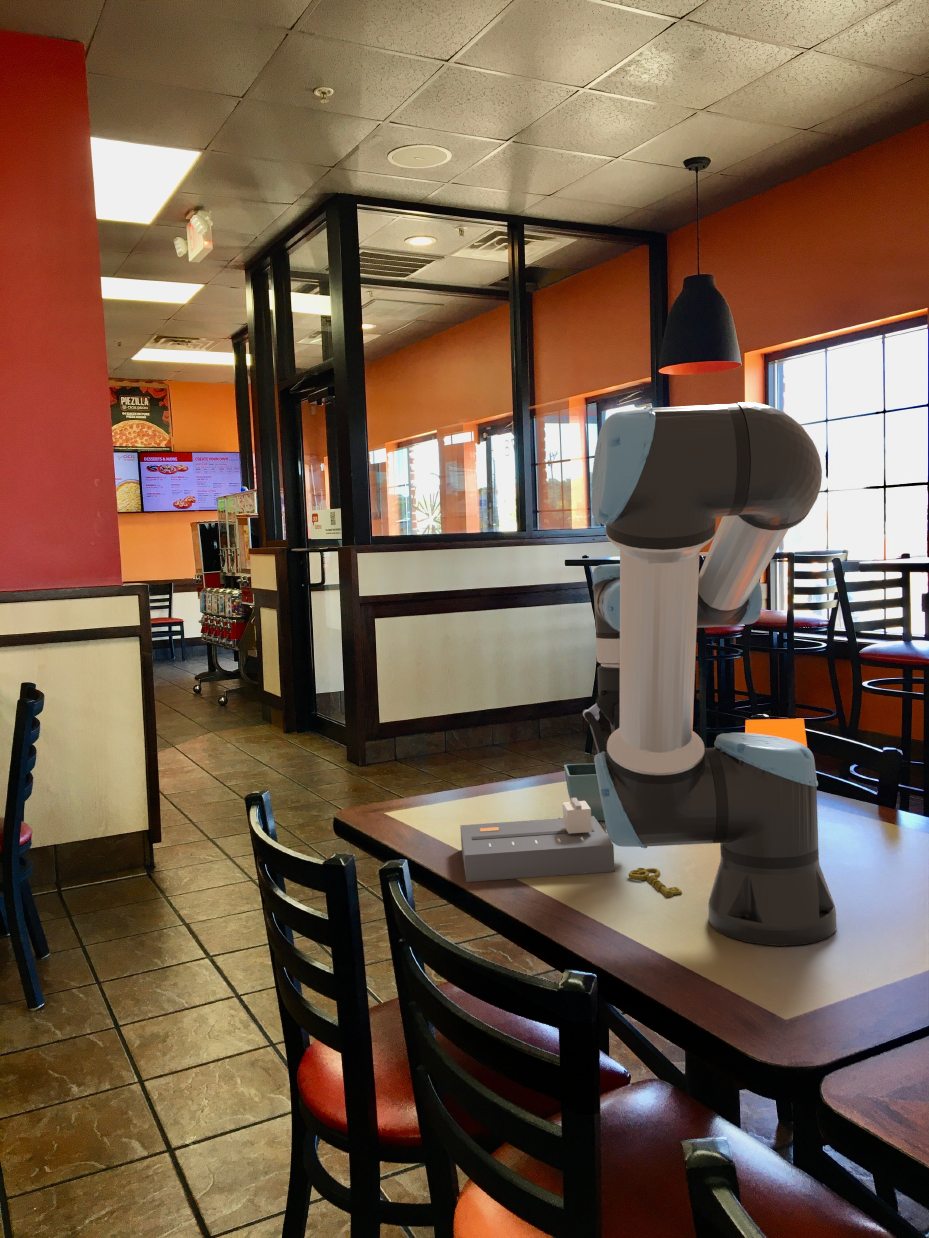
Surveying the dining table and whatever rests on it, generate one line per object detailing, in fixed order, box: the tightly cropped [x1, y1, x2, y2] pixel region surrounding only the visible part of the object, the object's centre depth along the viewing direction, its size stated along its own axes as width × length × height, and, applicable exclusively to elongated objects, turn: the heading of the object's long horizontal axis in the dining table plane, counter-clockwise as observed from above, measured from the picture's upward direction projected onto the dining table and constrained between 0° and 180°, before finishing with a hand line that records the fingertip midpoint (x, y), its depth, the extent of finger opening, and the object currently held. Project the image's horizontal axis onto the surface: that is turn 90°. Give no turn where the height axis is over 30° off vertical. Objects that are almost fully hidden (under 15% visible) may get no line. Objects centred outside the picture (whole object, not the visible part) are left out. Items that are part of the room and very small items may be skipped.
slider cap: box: [562, 798, 592, 834], centre depth 149 cm, size 5×4×4 cm
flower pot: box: [563, 762, 605, 822], centre depth 170 cm, size 9×9×9 cm
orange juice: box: [744, 718, 808, 748], centre depth 148 cm, size 8×9×20 cm
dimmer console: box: [459, 816, 616, 883], centre depth 149 cm, size 16×22×4 cm
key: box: [628, 867, 683, 898], centre depth 135 cm, size 12×1×5 cm
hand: (628, 813), depth 149 cm, fingers closed
